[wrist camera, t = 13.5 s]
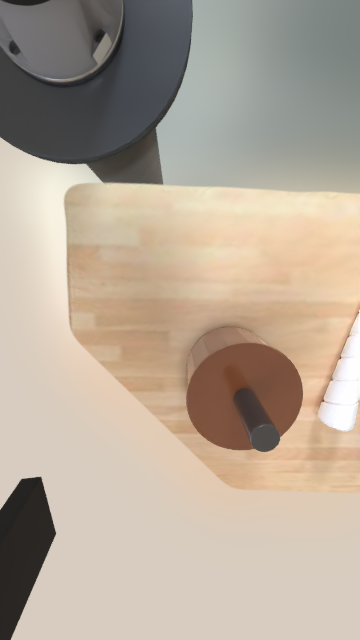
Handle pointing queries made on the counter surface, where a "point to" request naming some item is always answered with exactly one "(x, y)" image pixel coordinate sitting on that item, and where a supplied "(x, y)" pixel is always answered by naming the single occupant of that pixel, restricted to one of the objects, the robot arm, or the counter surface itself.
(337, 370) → the unicorn horn
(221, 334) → the crock
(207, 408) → the crock lid
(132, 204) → the counter surface
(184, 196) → the counter surface
